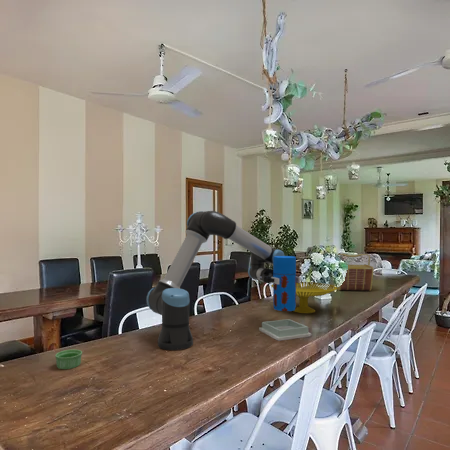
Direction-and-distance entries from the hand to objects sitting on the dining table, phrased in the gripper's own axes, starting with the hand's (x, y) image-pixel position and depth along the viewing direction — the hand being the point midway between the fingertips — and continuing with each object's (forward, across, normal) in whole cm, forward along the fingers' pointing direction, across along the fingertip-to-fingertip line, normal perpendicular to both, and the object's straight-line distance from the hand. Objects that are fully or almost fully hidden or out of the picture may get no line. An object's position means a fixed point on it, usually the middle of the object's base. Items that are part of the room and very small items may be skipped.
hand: (289, 280), depth 167 cm
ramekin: (+1, +95, -26) cm, 99 cm away
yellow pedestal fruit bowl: (-41, -37, -26) cm, 61 cm away
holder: (-4, 0, -26) cm, 26 cm away
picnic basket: (-91, -121, -26) cm, 154 cm away
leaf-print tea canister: (-4, 0, -14) cm, 15 cm away
